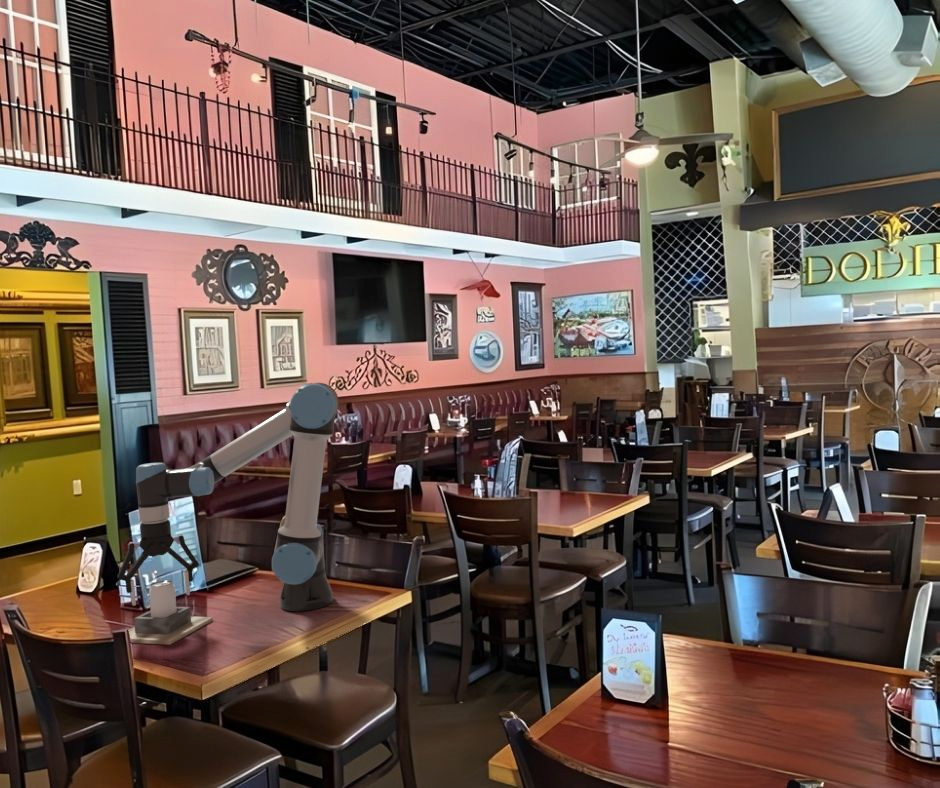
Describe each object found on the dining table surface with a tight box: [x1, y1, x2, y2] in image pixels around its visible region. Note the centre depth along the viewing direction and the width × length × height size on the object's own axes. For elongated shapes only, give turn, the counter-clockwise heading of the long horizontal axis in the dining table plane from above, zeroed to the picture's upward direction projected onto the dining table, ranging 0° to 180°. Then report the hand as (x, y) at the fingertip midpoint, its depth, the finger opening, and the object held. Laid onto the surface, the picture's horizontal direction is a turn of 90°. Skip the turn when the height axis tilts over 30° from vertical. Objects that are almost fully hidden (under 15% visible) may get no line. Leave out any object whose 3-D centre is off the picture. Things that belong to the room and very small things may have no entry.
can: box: [148, 579, 177, 618], centre depth 207 cm, size 6×6×12 cm
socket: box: [127, 606, 214, 645], centre depth 207 cm, size 18×18×5 cm
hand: (161, 599), depth 207 cm, fingers open, 13 cm apart
